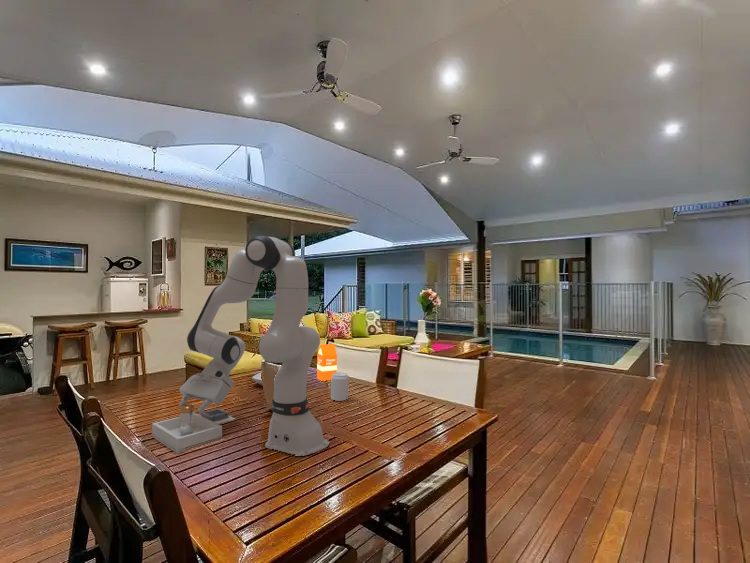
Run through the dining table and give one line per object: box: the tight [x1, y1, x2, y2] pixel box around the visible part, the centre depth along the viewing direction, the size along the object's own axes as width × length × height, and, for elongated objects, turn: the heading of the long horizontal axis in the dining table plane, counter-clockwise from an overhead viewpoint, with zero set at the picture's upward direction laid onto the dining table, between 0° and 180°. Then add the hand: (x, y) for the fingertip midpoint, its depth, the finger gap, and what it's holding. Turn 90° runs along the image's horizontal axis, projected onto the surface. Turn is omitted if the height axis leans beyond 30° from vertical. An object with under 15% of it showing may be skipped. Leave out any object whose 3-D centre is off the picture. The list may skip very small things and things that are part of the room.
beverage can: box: [330, 371, 349, 402], centre depth 184 cm, size 8×8×12 cm
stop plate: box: [199, 408, 236, 425], centre depth 153 cm, size 14×10×3 cm
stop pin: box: [180, 403, 195, 437], centre depth 136 cm, size 4×4×10 cm
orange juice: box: [316, 343, 338, 382], centre depth 220 cm, size 8×9×20 cm
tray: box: [151, 412, 223, 454], centre depth 136 cm, size 20×15×4 cm
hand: (189, 409), depth 136 cm, fingers open, 8 cm apart
